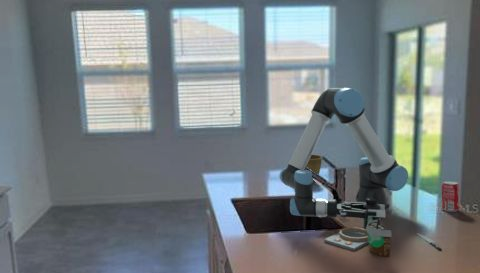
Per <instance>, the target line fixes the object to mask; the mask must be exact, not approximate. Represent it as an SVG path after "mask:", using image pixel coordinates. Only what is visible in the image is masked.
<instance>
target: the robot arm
mask: <svg viewBox="0 0 480 273" xmlns="http://www.w3.org/2000/svg"><path fill="white" fill-rule="evenodd" d="M364 104H365V99H364V96H363V94H362V93H361V92H360V91H359V90H357V89H355V88H352V87H330V88H327V89H326V90H324V91H323V92H322V93H320V96H319V97H318V98H317V100H316V101H315V103H314V105H313V106H312V109H311V112H310V113H311V116H310V118H309V120H308V122H307V125H306V127H305V129H304V131H303V132H302V135H301V137H300V140H299V141H298V144H297V146H296V148H295V150H294V151H293V154H292V156H291V158H290V160H289V162H288V164H287V166H286V167H285V168H283V169H282V170H281V171H280V173H279V180H280V182H281V183H283V184H284V185H285V186H287V187H289V188H291V189H293V190H294V197H291V198H290V202H289V212H290V214H291V215H293V216H300V217H319V218H320V219H321V218H326V217H328V218H333V219H334V218H336V219H337V217H338V216H337V215H340V217H341V218H359V219H363V218H366V219H368V217H381V218H386V208H385V207H386V206H388V204H389V203H388V202H389V199H388V197H387V194H386V191H385V190H388V191H392V192H397V191H400V190H402V189H403V188H404V187H405V186H406V185H407V183H408V180H409V172H408V170H407V168H406V167H405V166H403V165H399V163H398V162H397V159H395V157H394V156H393V155H391V154H388V152H387V150H386V149H385V147H384V145H383V144H382V142H381V141H380V138H379V136H378V135H377V134H376V133H375V131H374V129H373V128H372V126H371V124H370V122H369V120H368V119H367V117H366V116H365V113H366V112H365V111H366V108H365V105H364ZM333 116H336V117H337V119H338V120H339V122H340V124H341V125H346V126H347V128H348V130H349V131H350V133H351V135H352V136H353V138H354V140H355V141H356V142H357V144H358V146H359V148H360V149H361V151H362V152H363V154H364V155H365V157H361V158H360V159H359V163H358V168H359V169H358V171H359V172H358V174H359V175H358V176H359V180H358V183H359V184H358V190H357V193H356V196H355V201H345V200H344V201H342V203H338V200H337V199H336V198H335V199H333V198H332V199H331V198H329V199H326V198H314V197H313V196H314V194H313V193H314V192H313V189H314V188H313V185H314V184H313V178H312V172H311V171H309V170H304V169H305V167H306V165H307V163H308V161H309V159H310V157H311V155H313V153H314V150H315V148H316V146H317V144H318V142H319V139H320V138H321V136H322V133H323V132H324V130H325V127H326V126H327V123H328V122H330V121H331V120H332V118H333ZM367 197H376V198H378V205H380V207H381V210H370V209H368V210H363V206H364V205H365V204H366V198H367Z"/></svg>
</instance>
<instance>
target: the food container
mask: <svg viewBox="0 0 480 273" xmlns="http://www.w3.org/2000/svg"><path fill="white" fill-rule="evenodd" d="M365 229H366V231H367V232H368V239H369V243H368V249H369V250H368V251H369V253H370V254H372V255H373V256H376V257H380V258H390V256H391V254H390V253H391V240H392V239H391V238H392V237H393V236H392V230H390V229H389V230H388V229H387V228H386V227H385V226H384V225H382V224H381V225H380V224H379V223H378V220H372V221H369V222H368V224H367V226H366V228H365Z"/></svg>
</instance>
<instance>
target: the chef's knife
mask: <svg viewBox="0 0 480 273" xmlns="http://www.w3.org/2000/svg"><path fill="white" fill-rule="evenodd" d="M415 233H416V232H415ZM417 235H418V237H420V238H421V239H423V240H424V241H425V242H426V243H428V244H430V245H431V246H433V247H434V248H435V249H437V250H438V251H440V252H441V251H442V250H443V249H442V248H441V247H440V246H438V245H436V244H437V242H436V241H434V240H432V239H431V238H430V237H428V236H426V235H423V234H422V233H418V232H417V233H416V236H417Z"/></svg>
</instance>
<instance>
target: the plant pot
mask: <svg viewBox="0 0 480 273" xmlns="http://www.w3.org/2000/svg"><path fill="white" fill-rule="evenodd" d="M322 161H323V157H322V156H321V155H319V154H311V157H310V159H309V161H308V163H307V165H306V167H308V168H309V169H311V170H312V171H313V172H315V173H316V174H318V175H319V174H320V173H321V172H320V171H321V167H322ZM315 183H316V184H317V182H315V181H314V180H313V185H316V184H315Z"/></svg>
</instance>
